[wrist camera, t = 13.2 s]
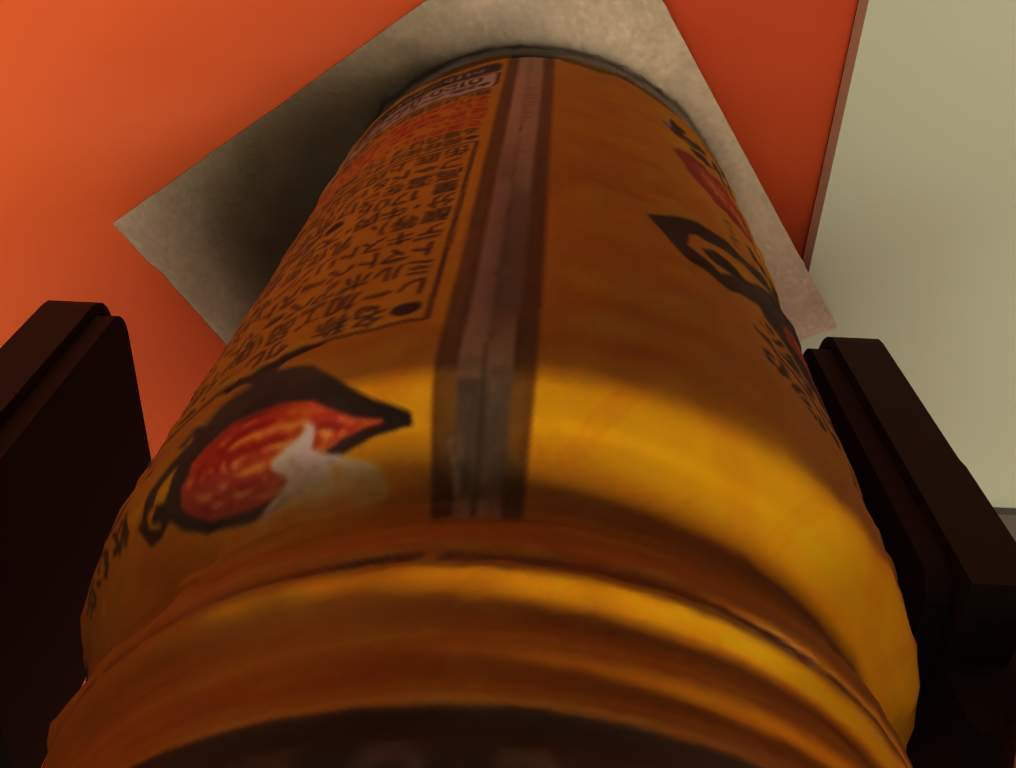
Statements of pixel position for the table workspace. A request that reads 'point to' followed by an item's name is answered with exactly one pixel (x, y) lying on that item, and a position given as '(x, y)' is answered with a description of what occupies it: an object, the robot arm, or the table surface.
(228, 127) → the table surface
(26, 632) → the robot arm
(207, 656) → the condiment
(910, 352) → the mat
